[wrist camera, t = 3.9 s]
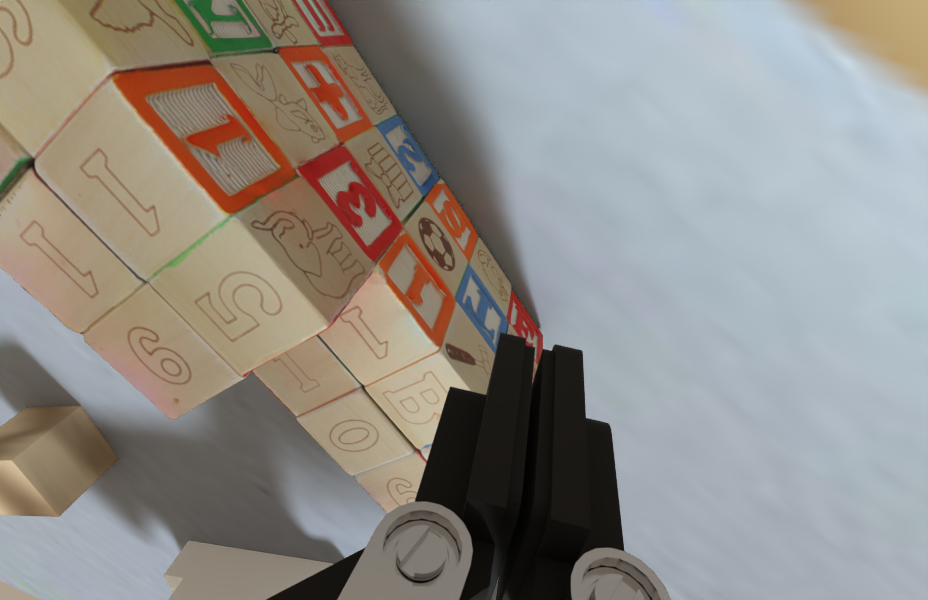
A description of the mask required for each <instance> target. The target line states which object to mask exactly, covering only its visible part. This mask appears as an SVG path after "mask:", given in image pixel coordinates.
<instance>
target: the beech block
mask: <svg viewBox="0 0 928 600" xmlns="http://www.w3.org/2000/svg"><path fill="white" fill-rule="evenodd" d="M118 459H119V458H118V457H117V455H116V454H115V453H114V451H113V450H112V448H111V447H110V445H109V444H108V443H107V441H106V440H105V438H104V437H103V436H102V434H101V433H100V431H99V430H98V428H97V427H96V426H95V424H94V423H93V421H92V420H91V418H90V417H89V416H88V414H87V413H86V411H85V410H84V409H83V407H82V406H81V405H79V406H56V407H33V408H26V409H24V410H23V411H22V412H20V413H19V414H17V415H16V416H15V417H13V418H12V419H10V420H9V421H8V422H6V423H5V424H3V425H2V426H1V427H0V513H1V514H2V515H20V516H52V517H59V516H60V515H61V514H62V513H63V512H64V511H66V510H67V509H68V508H69V507H70V506H71V505H72V504H73V503H74V502H75V501H76V500H77V499H78V498H79V497H80V496H81V495H82V494H83V493H84V492H85V491H86V490H87V489H88V488H89V487H90V486H91V485H92V484H93V483H94V482H95V481H96V480H97V479H98V478H99V477H100V476H101V475H102V474H103V473H104V472H105V471H106V470H108V469H109V468H110V467H111V466H112V465H113V464H114V463H115V462H116V461H117V460H118Z"/></svg>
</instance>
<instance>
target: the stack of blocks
mask: <svg viewBox="0 0 928 600" xmlns="http://www.w3.org/2000/svg"><path fill="white" fill-rule="evenodd" d="M0 267H1V268H2V269H3V270H4V271H5V272H6V273H8V274H9V275H10V276H11V277H12V278H13V279H14V280H15V281H17V282H18V283H19V284H20V285H21V286H22V288H23V289H24V290H26V291H27V292H28V293H29V294H30V295H32V296H33V297H34V298H35V299H36V300H38V301H39V302H40V303H41V304H42V305H43V306H44V307H46V308H47V309H48V310H49V311H50V312H51V313H52V314H53V315H54V316H55V317H57V318H58V319H59V320H60V321H61V322H62V323H63V324H64V325H65V326H66V327H68V328H69V329H71V330H72V331H75V332H77V333H80V334H83V336H84V340H85V342H86V343H87V344H88V345H89V346H90V347H91V348H92V349H93V350H95V351H96V352H97V353H98V354H99V355H100V356H101V357H102V358H103V359H104V360H106V361H107V362H108V363H109V364H110V365H111V366H112V367H113V368H114V369H115V370H117V371H118V372H119V373H120V374H121V375H122V376H123V377H124V378H125V379H127V380H128V381H129V382H130V383H131V384H132V385H133V386H134V387H135V388H136V389H138V390H139V391H140V392H141V393H142V394H143V395H144V396H145V397H146V398H148V399H149V400H150V401H151V402H152V403H153V404H154V405H155V406H156V407H157V408H158V409H159V410H161V411H162V412H163V413H164V414H165V415H166V416H167V417H169V418H170V419H173V420H174V419H176V418H178V417H179V416H181V415H183V414H184V413H186V412H188V411H189V410H191V409H193V408H195V407H196V406H198V405H200V404H201V403H203V402H205V401H206V400H208V399H210V398H212V397H213V396H215V395H217V394H218V393H220V392H222V391H224V390H225V389H227V388H229V387H231V386H232V385H234V384H236V383H238V382H239V381H241V380H243V379H245V378H246V377H247V375H248V374H249V373H250V372H251V371H252V372H253V373H254V374H255V375H256V376H257V377H258V378H259V379H260V380H261V381H262V382H263V384H264V385H265V386H266V387H267V388H268V389H269V390H270V391H271V392H272V393H273V394H274V395H275V396H276V397H277V398H278V399H279V400H280V401H281V402H282V403H283V404H284V405H285V406H286V407H287V408H288V409H289V410H290V411H291V412H292V413H293V414H294V415H295V416H296V419H297V421H298V422H299V423H300V424H301V425H302V426H303V427H304V428H305V429H306V430H307V431H308V433H309V434H310V435H311V436H312V437H313V438H314V439H315V440H316V441H317V442H318V443H319V444H320V445H321V446H322V447H323V448H324V449H325V450H326V451H327V452H328V453H329V455H330V456H331V457H332V458H333V459H334V460H335V461H336V462H337V463H338V464H339V465H340V466H341V467H342V468H343V469H344V470H345V471H346V473H348V474H349V475H351V476H354V477H355V479H356V480H357V482H358V483H359V484H360V485H361V486H362V487H363V488H364V489H365V490H366V491H367V492H368V493H369V494H370V495H371V496H372V497H373V498H374V499H375V500H376V502H377V503H378V504H379V505H380V506H381V507H382V509H383V510H385V511H386V512H387V513H390V512H391V511H393V510H394V509H396V508H397V507H399V506H402V505H405V504H408V503H411V502H415V499H416V495H417V492H418V489H419V486H420V482H421V479H422V476H423V473H424V469H425V466H426V463H427V459H428V456H429V453H430V450H431V446H432V443H433V440H434V437H435V433H436V430H437V427H438V423H439V420H440V417H441V414H442V410H443V407H444V404H445V400H446V397H447V394H448V391H449V388H450V386H451V387H455V388H459V389H463V390H468V391H472V392H476V393H481V394H485V395H486V393H487V389H488V384H489V380H490V376H491V371H492V367H493V363H494V358H495V354H496V349H497V345H498V341H499V336H500V332H501V333H506V334H510V335H515V336H519V337H524V338H526V345H527V346H532V347H535V357H534V368H533V380H534V377H535V373H536V370H537V367H538V363H539V360H540V356H541V353H542V350H543V335H542V333H541V332H540V330H539V329H538V328H537V326H536V325H535V323H534V322H533V320H532V319H531V317H530V316H529V314H528V313H527V311H526V310H525V308H524V307H523V305H522V304H521V302H520V301H519V299H518V298H517V297H516V295H515V293H514V292H513V291H512V290H511V284H510V282H509V281H508V279H507V278H506V276H505V275H504V273H503V272H502V270H501V268H500V267H499V265H498V264H497V262H496V261H495V259H494V258H493V256H492V255H491V253H490V252H489V250H488V249H487V247H486V246H485V244H484V243H483V241H482V240H481V239H480V238H479V237H478V234H477V232H476V230H475V228H474V227H473V225H472V224H471V222H470V220H469V219H468V217H467V216H466V214H465V213H464V211H463V210H462V208H461V206H460V205H459V203H458V202H457V200H456V199H455V197H454V196H453V194H452V193H451V191H450V190H449V188H448V186H447V185H446V183H445V182H444V180H442V179H440V178H439V176H438V174H437V173H436V171H435V169H434V168H433V166H432V165H431V163H430V162H429V160H428V159H427V157H426V156H425V154H424V153H423V151H422V149H421V148H420V146H419V145H418V143H417V142H416V140H415V139H414V137H413V136H412V134H411V133H410V131H409V129H408V128H407V126H406V125H405V123H404V122H403V120H402V119H401V118H400V117H399V116H398V115H397V113H396V111H395V109H394V107H393V106H392V104H391V103H390V101H389V100H388V98H387V96H386V95H385V93H384V92H383V90H382V89H381V87H380V86H379V84H378V83H377V81H376V80H375V78H374V77H373V75H372V74H371V72H370V70H369V69H368V67H367V66H366V64H365V63H364V61H363V60H362V58H361V57H360V55H359V54H358V52H357V51H356V49H355V48H354V46H353V42H352V40H351V38H350V36H349V35H348V33H347V31H346V30H345V28H344V27H343V25H342V23H341V22H340V20H339V19H338V17H337V16H336V14H335V13H334V11H333V9H332V8H331V6H330V5H329V3H328V2H327V0H0ZM533 380H532V384H533Z"/></svg>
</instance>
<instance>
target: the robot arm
mask: <svg viewBox="0 0 928 600" xmlns="http://www.w3.org/2000/svg"><path fill="white" fill-rule="evenodd" d="M534 357H535V347H532V346H527V345H526V338H524V337H519V336H515V335H510V334H506V333H501V332H500V336H499V341H498V345H497V349H496V354H495V358H494V363H493V367H492V371H491V376H490V380H489V384H488V389H487V393H486V395H485V394H481V393H476V392H472V391H468V390H463V389H459V388H455V387H451V386H450V388H449V391H448V394H447V397H446V400H445V404H444V407H443V410H442V414H441V417H440V420H439V423H438V427H437V430H436V433H435V437H434V440H433V443H432V446H431V450H430V453H429V456H428V459H427V463H426V466H425V469H424V473H423V476H422V479H421V482H420V486H419V489H418V492H417V495H416V499H415V502H411V503H408V504H405V505H402V506H399V507H397V508H396V509H394V510H393V511H391V512H390V513H388V514H387V515H386V516H385V517H384V519H383V520H382V521H381V522H380V524H379V525H378V526H377V528H376V530H375V532H374V533H373V535H372V537H371V539H370V541H369V543H368V544H367V546H366V548H364V549H362V550H360V551H358V552H356V553H354V554H352V555H350V556H349V557H347V558H345V559H343V560H341V561H339V562H337V563H335V564H333V565H331V566H329V567H327V568H325V569H324V570H322V571H320V572H318V573H316V574H314V575H312V576H310V577H308V578H306V579H304V580H302V581H300V582H299V583H297V584H295V585H293V586H291V587H289V588H287V589H285V590H283V591H281V592H279V593H277V594H275V595H274V596H272V597H270V598H268V599H266V600H491V598H492V595H493V592H494V589H495V586H496V583H497V580H498V577H499V580H498V588H497V597H496V600H671V599H670V596H669V594H668V592H667V590H666V588H665V586H664V584H663V583H662V582H661V580H660V579H659V578H658V576H657V575H656V574H655V572H654V571H653V570H651V569H650V568H649V567H648V566H647V565H646V564H645V563H643V562H642V561H641V560H640V559H638V558H636V557H634V556H633V555H631V554H629V553H627V552H625V551H624V544H623V535H622V525H621V516H620V507H619V498H618V488H617V479H616V470H615V460H614V451H613V442H612V433H611V428H610V425H609V424H608V423H605V422H601V421H596V420H592V419H588V418H586V413H585V392H584V372H583V354H582V351H581V350H577V349H573V348H568V347H564V346H560V345H554V347H553V349H552V351H549V350H545V349H543V350H542V353H541V356H540V360H539V363H538V367H537V370H536V373H535V377H534V380H533V368H534ZM532 380H533V384H532Z"/></svg>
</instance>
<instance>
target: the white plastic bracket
mask: <svg viewBox="0 0 928 600" xmlns="http://www.w3.org/2000/svg"><path fill="white" fill-rule="evenodd" d="M331 565H333V563H327V562H320V561H314V560H308V559H302V558H295V557H289V556H283V555H277V554H270V553H264V552H258V551H251V550H245V549H239V548H233V547H226V546H220V545H214V544H208V543H201V542H195V541H188V542H187V544H186V545H185V546H184V548H183V549H182V550H181V552H180V553H179V555H178V556H177V557H176V559H175V560H174V561H173V563H172V564H171V566H170V567H169V568H168V570H167V571H166V572H165V574H164V576H165V578H166V580H167V581H168V583H169V585H170V587H171V589H172V591H173V594H172V595H171V597H170V598H169V600H266V599H268V598H270V597H272V596H274V595H275V594H277V593H279V592H281V591H283V590H285V589H287V588H289V587H291V586H293V585H295V584H297V583H299V582H300V581H302V580H304V579H306V578H308V577H310V576H312V575H314V574H316V573H318V572H320V571H322V570H324V569H325V568H327V567H329V566H331Z"/></svg>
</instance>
